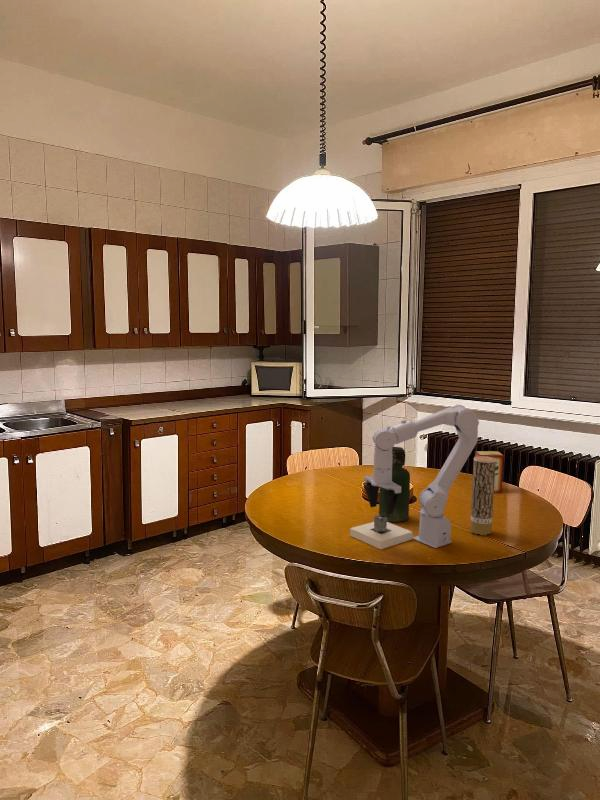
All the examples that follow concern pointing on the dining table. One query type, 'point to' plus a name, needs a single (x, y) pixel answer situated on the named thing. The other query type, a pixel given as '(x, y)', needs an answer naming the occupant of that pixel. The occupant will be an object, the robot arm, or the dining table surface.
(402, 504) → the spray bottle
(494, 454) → the baking soda box
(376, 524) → the peg
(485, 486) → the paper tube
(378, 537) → the socket
